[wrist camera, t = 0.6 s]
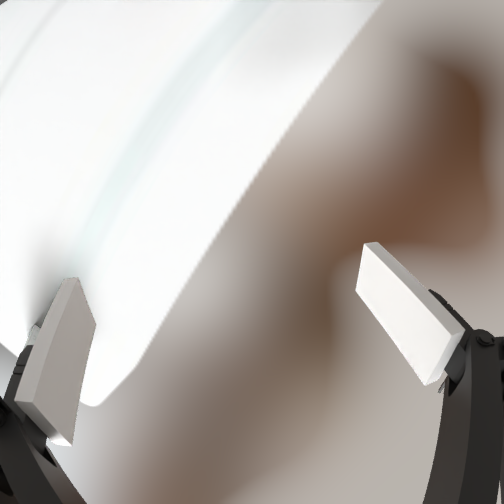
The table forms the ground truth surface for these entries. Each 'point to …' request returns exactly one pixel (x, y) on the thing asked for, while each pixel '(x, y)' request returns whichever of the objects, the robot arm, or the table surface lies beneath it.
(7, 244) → the table surface
